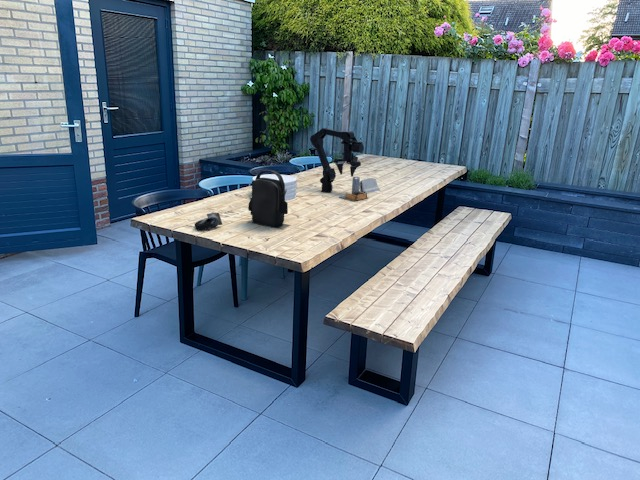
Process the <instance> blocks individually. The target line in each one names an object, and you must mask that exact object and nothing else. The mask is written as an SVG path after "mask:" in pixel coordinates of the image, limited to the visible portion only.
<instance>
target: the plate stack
mask: <svg viewBox="0 0 640 480" xmlns="http://www.w3.org/2000/svg"><path fill="white" fill-rule="evenodd" d="M280 175H281V176H282V178H283V181H284V184H285V191H286V189H287V191H286V194H285V201H286V202H287V201H291V200H294V199H295V198H297V181H298V179H297V177H296V176H292V175H288V174H280ZM256 177H257V175H255V176H253V177H252V181H253V180H254V181H255V180H256ZM260 178H270V179H275V180H279V179H278V177H277V176H276V175H275V174H274V173H271V174H269V173H268V174H262V175H261V176H260ZM252 181H251V182H252Z"/></svg>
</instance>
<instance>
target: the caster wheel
mask: <svg viewBox="0 0 640 480" xmlns="http://www.w3.org/2000/svg"><path fill="white" fill-rule="evenodd" d="M222 225H223V222H222V218H221V216H220V213H219V212H211V213H207V214H206V218H204V219H201V220H198V221H196V222H195V223H194V228H195V230H197V231H204V230H208V231H209V230H214V229H216V228H217V227H218V226H222Z"/></svg>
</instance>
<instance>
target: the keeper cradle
mask: <svg viewBox="0 0 640 480" xmlns="http://www.w3.org/2000/svg"><path fill="white" fill-rule="evenodd" d="M338 198H339V199H343V200H346V201H350V202H359V201H363V200H368V199H369V197H368V193H365V192H360V191H359V195H354V194H352V193H349V192H345V195H341V196H338Z"/></svg>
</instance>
